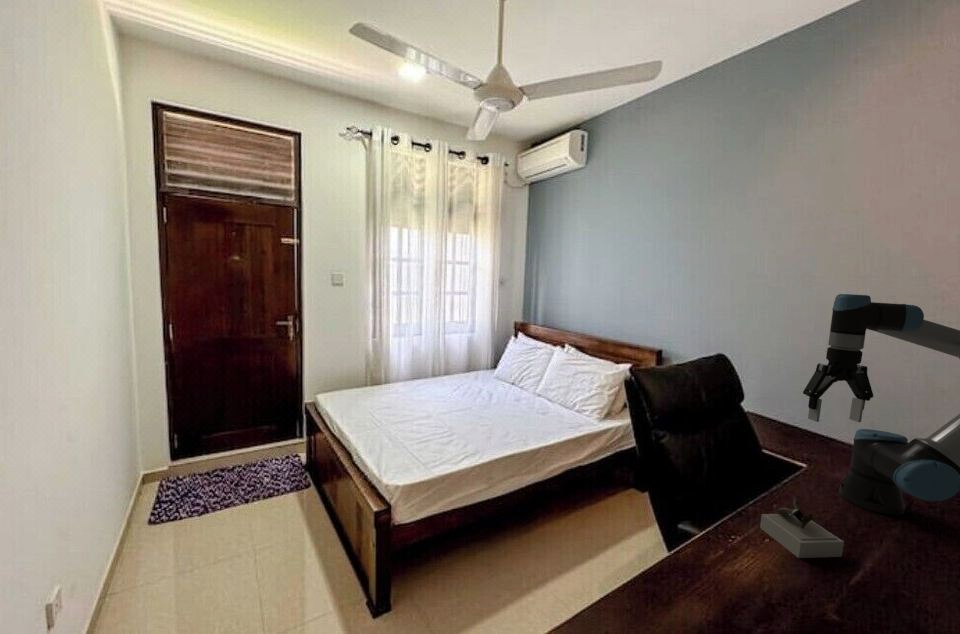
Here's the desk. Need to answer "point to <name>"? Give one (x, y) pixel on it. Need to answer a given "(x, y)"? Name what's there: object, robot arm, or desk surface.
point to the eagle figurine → (798, 513)
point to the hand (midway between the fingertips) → (834, 420)
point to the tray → (801, 536)
